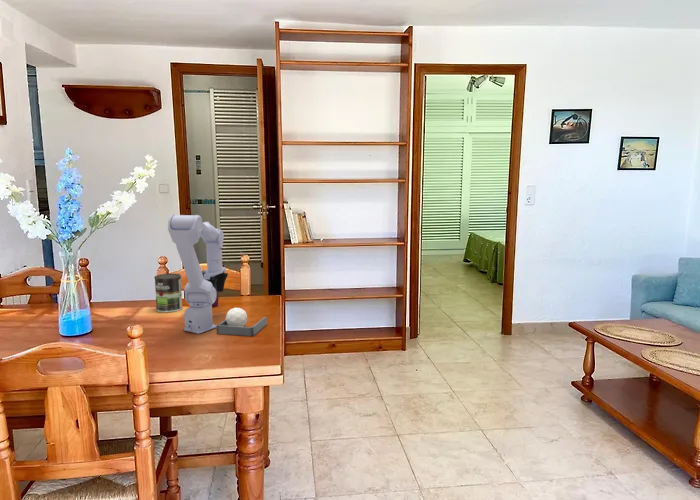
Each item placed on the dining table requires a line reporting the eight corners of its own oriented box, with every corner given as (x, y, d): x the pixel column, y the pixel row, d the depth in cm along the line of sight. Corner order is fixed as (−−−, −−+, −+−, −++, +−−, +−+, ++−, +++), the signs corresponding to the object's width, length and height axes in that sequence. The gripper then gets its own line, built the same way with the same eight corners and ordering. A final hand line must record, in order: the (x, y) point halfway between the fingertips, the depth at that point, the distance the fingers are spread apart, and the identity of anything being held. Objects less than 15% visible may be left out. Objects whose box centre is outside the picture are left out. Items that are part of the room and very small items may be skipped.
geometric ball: (239, 333, 186) (248, 314, 189) (243, 332, 179) (252, 311, 182) (220, 324, 185) (230, 305, 187) (223, 323, 177) (233, 302, 180)
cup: (217, 307, 211) (216, 272, 208) (201, 307, 211) (200, 272, 208) (222, 303, 217) (220, 269, 215) (206, 303, 217) (205, 269, 215)
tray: (253, 336, 175) (252, 327, 175) (216, 333, 178) (216, 325, 177) (266, 324, 188) (266, 316, 188) (232, 322, 191) (232, 314, 190)
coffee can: (172, 313, 202) (170, 279, 200) (151, 311, 205) (148, 277, 203) (187, 307, 212) (186, 274, 210) (167, 305, 215) (165, 272, 213)
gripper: (213, 255, 202) (214, 288, 204) (195, 262, 188) (197, 297, 190) (229, 256, 200) (231, 289, 203) (213, 263, 186) (214, 298, 188)
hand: (215, 293), depth 196 cm, fingers open, 7 cm apart
